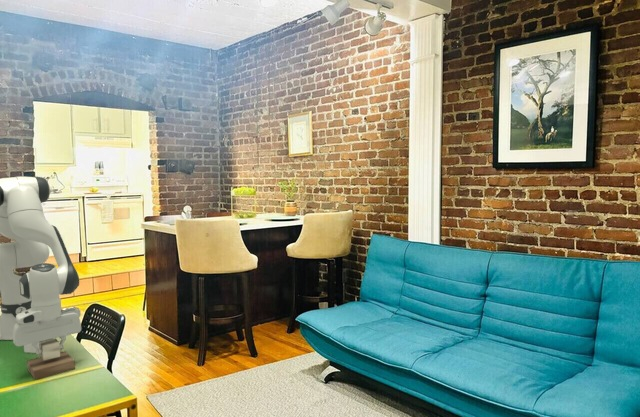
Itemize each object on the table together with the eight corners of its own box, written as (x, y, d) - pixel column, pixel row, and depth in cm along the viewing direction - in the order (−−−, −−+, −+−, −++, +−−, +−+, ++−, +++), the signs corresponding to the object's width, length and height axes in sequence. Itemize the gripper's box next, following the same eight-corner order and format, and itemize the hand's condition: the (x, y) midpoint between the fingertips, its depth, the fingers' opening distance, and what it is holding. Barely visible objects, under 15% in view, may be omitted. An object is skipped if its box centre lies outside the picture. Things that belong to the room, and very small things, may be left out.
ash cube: (40, 356, 164) (39, 342, 163) (56, 352, 167) (55, 338, 167) (43, 360, 160) (42, 346, 160) (60, 356, 163) (59, 342, 163)
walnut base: (27, 369, 164) (26, 360, 164) (66, 359, 172) (65, 351, 172) (34, 379, 155) (34, 371, 155) (75, 369, 163) (74, 360, 163)
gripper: (77, 303, 171) (80, 341, 173) (10, 316, 158) (13, 357, 159) (82, 307, 167) (85, 345, 168) (13, 320, 153) (17, 362, 154)
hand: (49, 351), depth 163 cm, fingers closed on ash cube, 5 cm apart
